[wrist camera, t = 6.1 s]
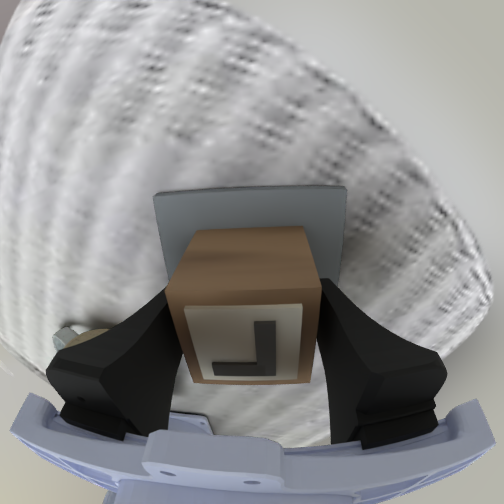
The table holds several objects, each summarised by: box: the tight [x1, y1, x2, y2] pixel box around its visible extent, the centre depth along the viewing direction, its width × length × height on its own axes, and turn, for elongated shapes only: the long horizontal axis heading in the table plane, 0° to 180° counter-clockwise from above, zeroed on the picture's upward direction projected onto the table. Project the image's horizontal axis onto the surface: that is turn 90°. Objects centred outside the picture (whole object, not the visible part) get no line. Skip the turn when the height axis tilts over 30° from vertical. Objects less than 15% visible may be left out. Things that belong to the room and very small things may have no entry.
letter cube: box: [165, 226, 322, 385], centre depth 12 cm, size 5×5×5 cm
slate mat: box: [153, 186, 347, 287], centre depth 14 cm, size 9×9×1 cm
